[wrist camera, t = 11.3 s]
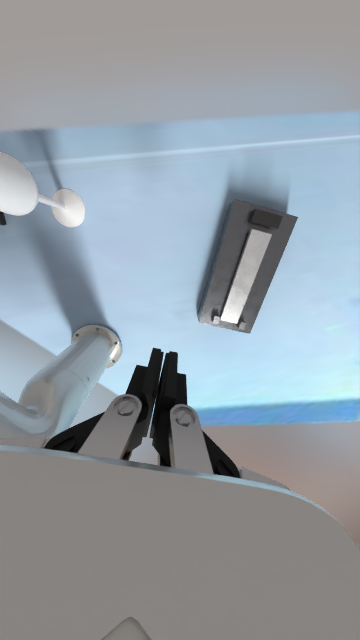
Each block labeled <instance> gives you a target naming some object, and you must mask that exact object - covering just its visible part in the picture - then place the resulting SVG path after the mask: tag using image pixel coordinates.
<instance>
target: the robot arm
mask: <svg viewBox="0 0 360 640" xmlns="http://www.w3.org/2000/svg"><path fill="white" fill-rule="evenodd" d="M121 353H122V345H121V342H120V340H119V338H118V337H117V335H116V334H115V333H114V332H113V331H111V330H110V329H108V328H106V327H104V326H101V325H95V324H92V325H86V326H83V327H81V328H80V329H79V330H77V331H76V332H75V333H74V335H73V337H72V340H71V345H70V346H68V347H67V348H66V349H65V350H64V351H63V352H61V353H60V354H59V355H58V356H57V357H56V358H54V359H53V360H52V361H51V362H50V363H48V364H47V365H46V366H45V367H44V368H43V369H41V370H40V371H39V372H38V373H37V374H36V375H34V376H33V377H32V378H31V379H30V380H29V381H28V383H27V384H26V385H25V387H24V389H23V391H22V393H21V396H20V398H19V402H18V403H16V402H15V401H14V400H12V399H11V398H9V397H8V396H6V395H5V394H4V393H2V392H1V391H0V640H360V546H359V544H358V543H357V542H356V540H355V539H354V538H353V536H352V535H351V534H350V533H349V532H348V530H347V529H346V528H345V527H344V526H343V525H342V523H341V522H339V521H338V520H337V519H336V518H335V517H334V516H333V515H332V514H330V513H329V512H328V511H326V510H325V509H323V508H322V507H320V506H319V505H317V504H316V503H314V502H312V501H311V500H309V499H307V498H306V497H304V496H301V495H299V494H297V493H294V492H292V491H291V490H290V489H289V488H288V487H287V486H285V485H283V484H282V483H279V482H277V481H274V480H272V479H270V478H267V477H265V476H263V475H260V474H258V473H255V472H253V471H251V470H248V469H246V468H244V467H241V469H239V468H237V467H236V465H235V464H234V463H233V462H232V460H231V459H230V458H229V457H228V456H227V455H226V454H225V453H224V452H223V451H222V450H221V449H220V448H219V447H218V446H217V445H216V444H215V443H214V442H213V441H212V440H211V439H210V438H209V437H208V436H207V435H206V434H205V433H204V432H203V431H202V429H201V425H200V421H199V417H198V415H197V413H196V411H195V410H194V409H193V408H191V407H190V406H188V405H187V388H186V375H185V374H180V373H177V362H178V353H176V352H171V351H170V352H169V353H166V355H165V360H164V364H163V368H162V372H161V366H162V360H163V354H164V352H161V349H157V348H153V350H152V353H151V357H150V360H149V364H148V367H145V366H140V365H136V368H135V370H134V373H133V376H132V378H131V381H130V383H129V386H128V388H127V391H126V394H123V395H120V396H118V397H116V398H115V399H114V400H113V401H112V402H111V404H110V406H109V407H108V408H107V410H106V411H105V412H103V413H101V414H99V415H97V416H94V417H92V418H90V419H88V420H86V421H84V422H82V423H80V424H77V425H75V426H73V427H71V428H69V427H70V425H71V424H72V422H73V420H74V418H75V417H76V415H77V413H78V411H79V410H80V408H81V407H82V405H83V403H84V402H85V400H86V399H87V397H88V395H89V394H90V393H91V391H92V389H93V388H94V386H95V385H96V383H97V382H98V380H99V378H100V377H101V375H102V374H103V372H104V371H105V369H106V368H109V367H111V366H113V365H114V364H116V362H117V361H118V360H119V358H120V356H121ZM160 372H161V376H160ZM159 378H160V380H159ZM155 399H156V401H155ZM154 404H155V407H154ZM153 408H154V413H153V419H152V425H151V432H150V438H153V443H152V445H153V446H154V448H155V449H156V450H157V452H158V458H157V459H158V465H152V464H146V463H139V462H133V461H129V460H130V457H131V455H132V450H133V449H135V448H136V447H138V446H139V445H140V444H141V442H142V437H146V436H147V433H148V428H149V424H150V420H151V416H152V412H153Z"/></svg>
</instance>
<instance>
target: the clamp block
mask: <svg viewBox="0 0 360 640" xmlns="http://www.w3.org/2000/svg"><path fill="white" fill-rule="evenodd" d="M297 218H298V217H296V216H293V215H289V214H285V213H282V212H278V211H275V210H271V209H268V208H264V207H261V206H257V205H254V204H250V203H247V202H243V201H240V200H236V199H235V200H234V201H233V202H232V203H231V204H230V205H229V208H228V212H227V215H226V219H225V222H224V226H223V229H222V233H221V236H220V240H219V243H218V247H217V250H216V253H215V257H214V260H213V264H212V267H211V271H210V274H209V278H208V281H207V285H206V288H205V292H204V295H203V299H202V302H201V305H200V309H199V312H198V316H197V317H198V321H199V323H204V324H208V325H213V326H217V327H222V328H226V329H231V330H235V331H240V332H244V333H249V334H250V332H251V329H252V327H253V324H254V322H255V320H256V317H257V315H258V312H259V310H260V308H261V305H262V303H263V300H264V298H265V296H266V293H267V291H268V288H269V286H270V283H271V281H272V279H273V276H274V274H275V271H276V269H277V267H278V264H279V262H280V259H281V257H282V255H283V252H284V250H285V247H286V245H287V243H288V240H289V238H290V235H291V233H292V230H293V228H294V226H295V223H296V221H297ZM250 229H254V230H258V231H261V232H265V233H269V234H272V236H271V238H270V241H269V243H268V246H267V249H266V251H265V254H264V256H263V259H262V261H261V264H260V266H259V269H258V272H257V274H256V277H255V279H254V282H253V284H252V287H251V289H250V292H249V295H248V297H247V300H246V302H245V305H244V307H243V310H242V312H241V315H240V318H239V320H238V323H237V324H235V323H231V322H227V321H222V320H220V315H221V312H222V309H223V306H224V304H225V301H226V298H227V295H228V292H229V289H230V286H231V283H232V280H233V278H234V275H235V272H236V269H237V266H238V263H239V260H240V257H241V254H242V252H243V249H244V246H245V243H246V240H247V237H248V234H249V231H250Z"/></svg>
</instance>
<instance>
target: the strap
mask: <svg viewBox="0 0 360 640" xmlns="http://www.w3.org/2000/svg"><path fill="white" fill-rule="evenodd" d="M271 236H272V234H269V233H265V232H261V231H258V230H254V229H250V231H249V234H248V237H247V240H246V243H245V246H244V249H243V252H242V254H241V257H240V260H239V263H238V266H237V269H236V272H235V275H234V278H233V280H232V283H231V286H230V289H229V292H228V295H227V298H226V301H225V304H224V306H223V309H222V312H221V315H220V320H222V321H227V322H231V323H235V324H237V323H238V320H239V318H240V315H241V312H242V310H243V307H244V305H245V302H246V300H247V297H248V295H249V292H250V289H251V287H252V284H253V282H254V279H255V277H256V274H257V272H258V269H259V266H260V264H261V261H262V259H263V256H264V254H265V251H266V249H267V246H268V243H269V241H270V238H271Z"/></svg>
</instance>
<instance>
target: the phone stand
mask: <svg viewBox="0 0 360 640" xmlns="http://www.w3.org/2000/svg"><path fill="white" fill-rule="evenodd" d="M0 225H6V221H5V217H4V213H3V212H1V211H0Z"/></svg>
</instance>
